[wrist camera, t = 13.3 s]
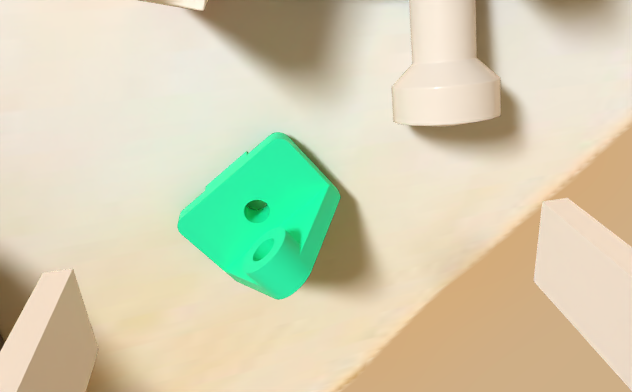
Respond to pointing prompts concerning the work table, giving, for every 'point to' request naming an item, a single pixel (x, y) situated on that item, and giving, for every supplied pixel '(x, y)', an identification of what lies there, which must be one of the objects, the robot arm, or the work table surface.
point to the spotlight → (445, 69)
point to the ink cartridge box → (182, 3)
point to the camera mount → (264, 217)
